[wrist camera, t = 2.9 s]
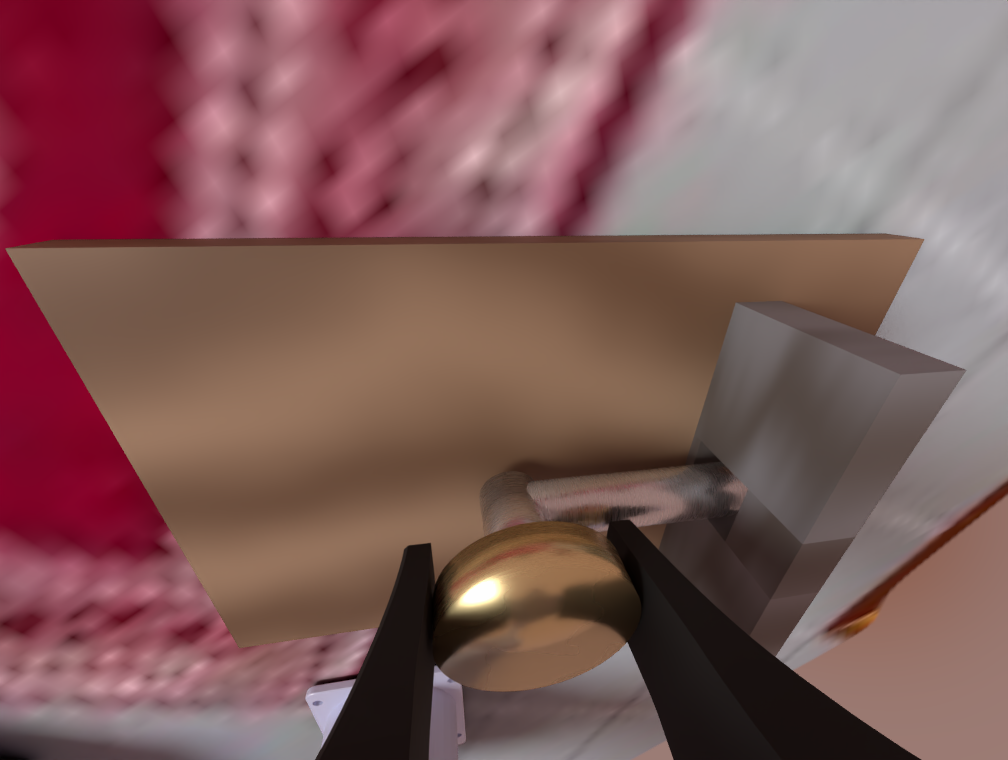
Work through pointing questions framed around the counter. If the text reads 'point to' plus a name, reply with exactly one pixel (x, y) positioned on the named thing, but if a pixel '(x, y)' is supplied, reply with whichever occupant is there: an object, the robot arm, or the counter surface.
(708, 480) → the brass knob with shaft
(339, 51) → the counter surface
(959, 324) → the counter surface
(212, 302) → the wooden board
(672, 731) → the robot arm
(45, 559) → the counter surface
